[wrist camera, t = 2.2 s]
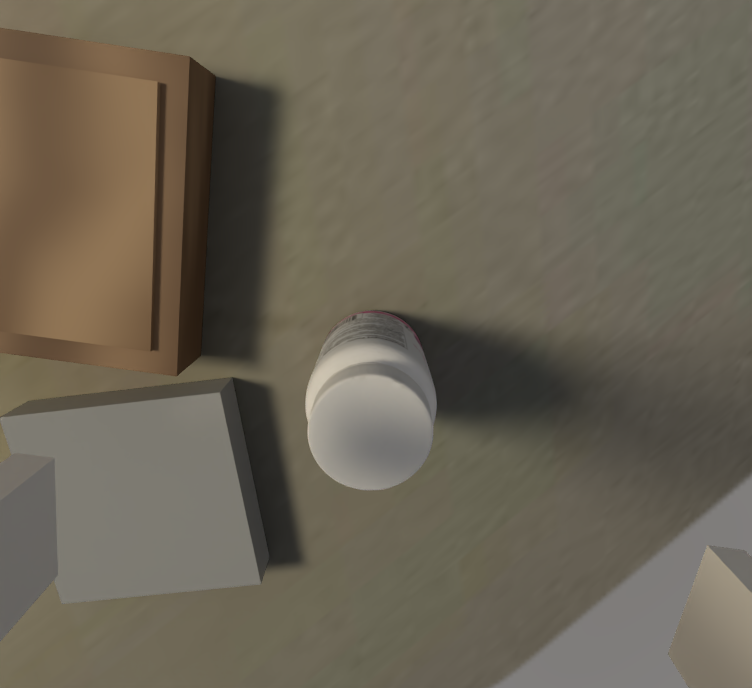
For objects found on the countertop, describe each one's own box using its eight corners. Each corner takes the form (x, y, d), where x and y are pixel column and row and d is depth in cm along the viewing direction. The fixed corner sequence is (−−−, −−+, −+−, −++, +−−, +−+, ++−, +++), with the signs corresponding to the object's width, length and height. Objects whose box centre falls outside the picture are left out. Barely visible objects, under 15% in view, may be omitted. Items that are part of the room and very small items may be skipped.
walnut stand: (-60, 320, 24) (-126, 338, 21) (-84, 30, 21) (-166, 1, 18) (200, 355, 24) (174, 378, 21) (215, 76, 21) (187, 54, 18)
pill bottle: (422, 405, 25) (442, 504, 17) (323, 405, 25) (295, 503, 17) (425, 308, 24) (448, 364, 16) (320, 307, 24) (290, 363, 16)
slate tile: (84, 576, 28) (62, 604, 26) (28, 400, 25) (-2, 417, 23) (269, 557, 27) (261, 584, 25) (232, 377, 25) (219, 392, 23)
